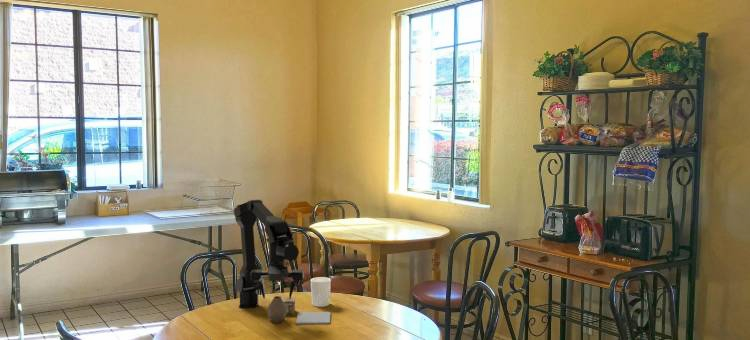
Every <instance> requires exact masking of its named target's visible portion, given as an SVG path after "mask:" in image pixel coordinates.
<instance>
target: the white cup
mask: <svg viewBox="0 0 750 340" xmlns="http://www.w3.org/2000/svg"><path fill="white" fill-rule="evenodd" d="M331 282H332V278H329V277H323V276H318V277H313V278H311V279H310V293H311V304H312V306H314V307H317V308H318V307H319V308H322V307H327V306H329V305H330V297H331V284H332V283H331Z"/></svg>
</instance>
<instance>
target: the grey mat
mask: <svg viewBox="0 0 750 340" xmlns="http://www.w3.org/2000/svg"><path fill="white" fill-rule="evenodd" d="M295 321H296V322H295V325H330V324H331V311H330V312H329V311H310V312H309V311H305V312H303V311H298V313H297V316H296V320H295Z"/></svg>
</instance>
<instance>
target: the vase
mask: <svg viewBox="0 0 750 340" xmlns="http://www.w3.org/2000/svg"><path fill="white" fill-rule="evenodd" d="M287 315H288V314H287V307H286V304H285V303H284V302H283V300H282V296H278V295H276V296H273V299H272V300H271V301H270V302H269V305H268V307H267V316H268V319H269V320H270V321H271V322H273V323H276V324H277V323H282V322H283V321H284V320H285V319H286V317H287Z"/></svg>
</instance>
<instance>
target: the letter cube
mask: <svg viewBox="0 0 750 340" xmlns="http://www.w3.org/2000/svg"><path fill="white" fill-rule="evenodd" d="M281 299H282V300H283V302H284V303H285V304H286V307H287V315H295V312H296V297H291V299H289V297H281Z"/></svg>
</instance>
